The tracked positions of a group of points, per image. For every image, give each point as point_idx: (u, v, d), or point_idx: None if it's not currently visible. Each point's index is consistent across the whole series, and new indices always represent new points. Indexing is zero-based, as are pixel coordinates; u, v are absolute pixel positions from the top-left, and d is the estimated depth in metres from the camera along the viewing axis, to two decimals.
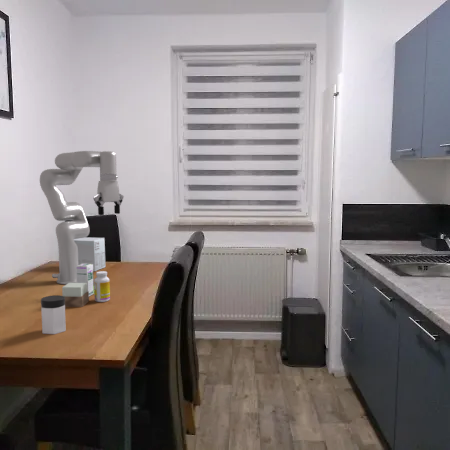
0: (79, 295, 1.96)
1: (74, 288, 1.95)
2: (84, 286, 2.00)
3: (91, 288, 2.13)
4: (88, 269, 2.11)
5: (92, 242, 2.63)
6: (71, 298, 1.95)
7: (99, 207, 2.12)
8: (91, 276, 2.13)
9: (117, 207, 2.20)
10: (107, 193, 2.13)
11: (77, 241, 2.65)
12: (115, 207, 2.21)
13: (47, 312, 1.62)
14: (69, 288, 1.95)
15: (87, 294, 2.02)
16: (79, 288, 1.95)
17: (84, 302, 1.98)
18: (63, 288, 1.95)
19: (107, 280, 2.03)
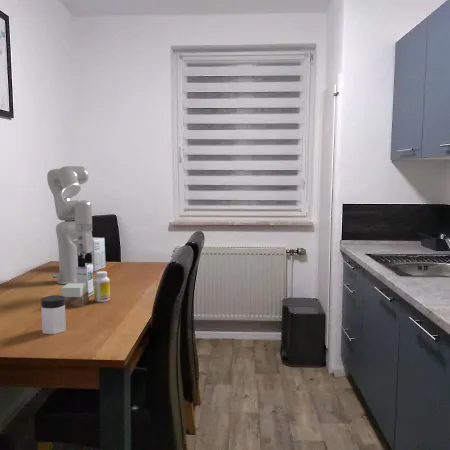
0: (78, 295, 1.95)
1: (73, 288, 1.95)
2: (83, 286, 2.00)
3: (91, 288, 2.13)
4: (88, 269, 2.11)
5: None
6: (71, 298, 1.95)
7: None
8: (91, 276, 2.13)
9: None
10: None
11: None
12: None
13: (47, 312, 1.62)
14: (68, 288, 1.95)
15: (87, 294, 2.03)
16: (78, 288, 1.95)
17: (84, 302, 1.98)
18: (62, 288, 1.95)
19: (107, 280, 2.03)
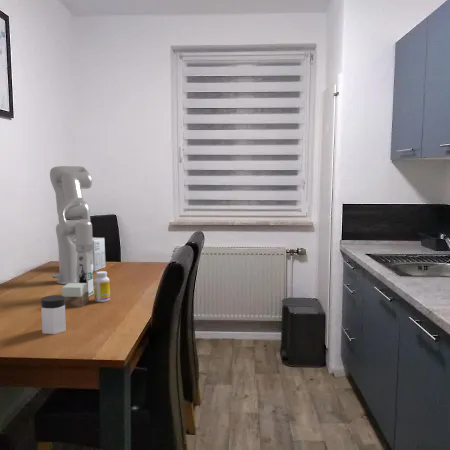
0: (79, 295, 1.96)
1: (74, 288, 1.95)
2: (84, 286, 2.00)
3: (91, 288, 2.13)
4: None
5: None
6: (71, 298, 1.95)
7: None
8: (91, 276, 2.13)
9: None
10: None
11: None
12: None
13: (47, 312, 1.62)
14: (69, 288, 1.95)
15: (87, 294, 2.03)
16: (79, 288, 1.95)
17: (84, 302, 1.99)
18: (63, 288, 1.96)
19: (107, 280, 2.03)
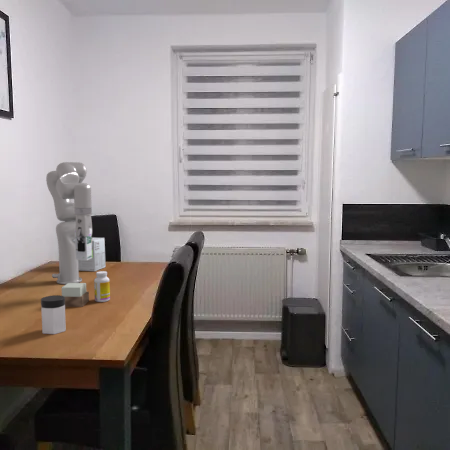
0: (78, 295, 1.96)
1: (73, 288, 1.95)
2: (83, 286, 2.00)
3: (90, 252, 2.12)
4: None
5: (92, 242, 2.63)
6: (71, 298, 1.95)
7: None
8: (89, 240, 2.11)
9: None
10: None
11: None
12: None
13: (47, 312, 1.62)
14: (68, 288, 1.95)
15: (87, 294, 2.03)
16: (78, 288, 1.95)
17: (84, 302, 1.99)
18: (62, 288, 1.95)
19: (107, 280, 2.03)
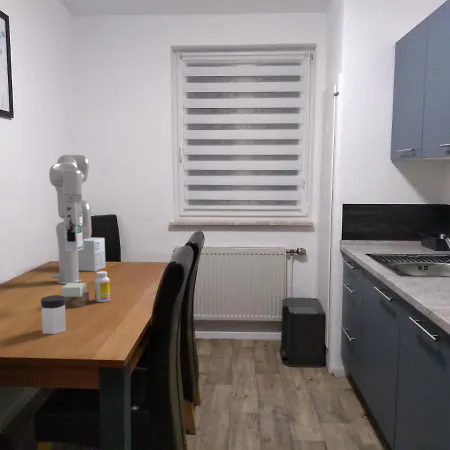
0: (78, 295, 1.96)
1: (73, 288, 1.96)
2: (83, 286, 2.00)
3: (80, 242, 1.98)
4: None
5: (92, 242, 2.63)
6: (71, 298, 1.95)
7: None
8: (80, 230, 1.97)
9: None
10: None
11: None
12: None
13: (47, 312, 1.62)
14: (68, 288, 1.96)
15: (87, 294, 2.03)
16: (78, 288, 1.96)
17: (84, 302, 1.99)
18: (62, 288, 1.96)
19: (107, 280, 2.03)
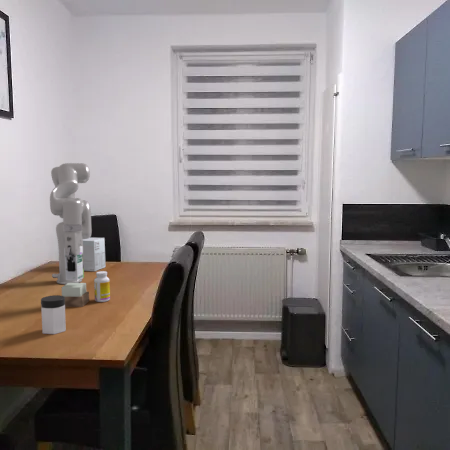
0: (78, 295, 1.96)
1: (73, 288, 1.96)
2: (83, 286, 2.00)
3: (81, 272, 1.98)
4: None
5: (92, 242, 2.63)
6: (71, 298, 1.95)
7: None
8: (80, 259, 1.98)
9: None
10: None
11: None
12: None
13: (47, 312, 1.62)
14: (68, 288, 1.96)
15: (87, 294, 2.03)
16: (78, 288, 1.96)
17: (84, 302, 1.99)
18: (62, 288, 1.96)
19: (107, 280, 2.03)
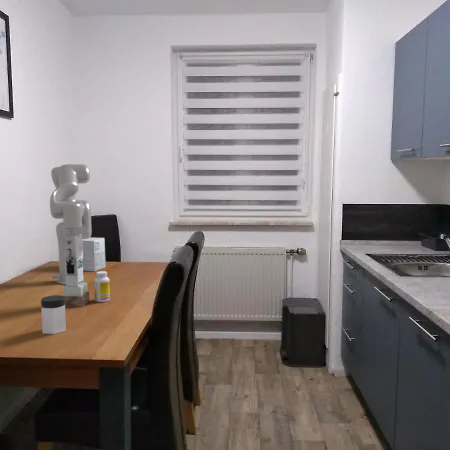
0: (79, 295, 1.96)
1: (74, 288, 1.96)
2: (84, 286, 2.01)
3: (81, 277, 1.99)
4: None
5: (92, 242, 2.63)
6: (72, 298, 1.96)
7: None
8: (80, 265, 1.99)
9: None
10: None
11: None
12: None
13: (47, 312, 1.62)
14: (69, 288, 1.96)
15: (87, 294, 2.03)
16: (79, 288, 1.96)
17: (85, 302, 1.99)
18: (63, 288, 1.96)
19: (107, 280, 2.03)
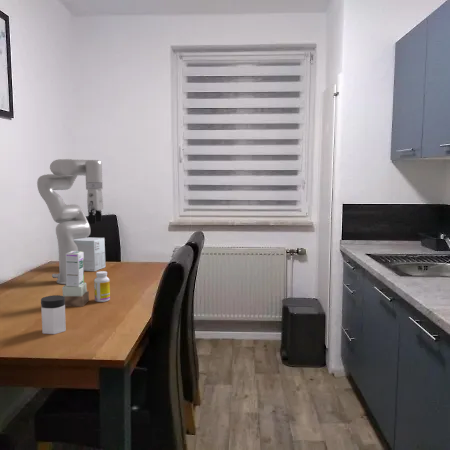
0: (80, 295, 1.97)
1: (74, 288, 1.96)
2: (84, 286, 2.01)
3: (81, 277, 1.99)
4: (79, 257, 1.96)
5: (92, 242, 2.63)
6: (72, 298, 1.96)
7: None
8: (81, 265, 1.98)
9: None
10: None
11: (77, 241, 2.65)
12: None
13: (47, 312, 1.62)
14: (69, 288, 1.96)
15: (87, 294, 2.03)
16: (79, 288, 1.96)
17: (84, 302, 1.99)
18: (63, 288, 1.96)
19: (107, 280, 2.03)
